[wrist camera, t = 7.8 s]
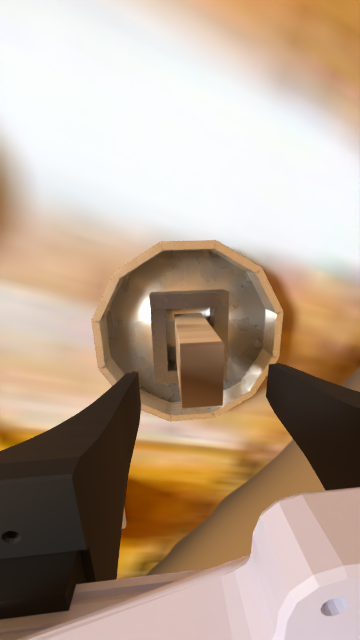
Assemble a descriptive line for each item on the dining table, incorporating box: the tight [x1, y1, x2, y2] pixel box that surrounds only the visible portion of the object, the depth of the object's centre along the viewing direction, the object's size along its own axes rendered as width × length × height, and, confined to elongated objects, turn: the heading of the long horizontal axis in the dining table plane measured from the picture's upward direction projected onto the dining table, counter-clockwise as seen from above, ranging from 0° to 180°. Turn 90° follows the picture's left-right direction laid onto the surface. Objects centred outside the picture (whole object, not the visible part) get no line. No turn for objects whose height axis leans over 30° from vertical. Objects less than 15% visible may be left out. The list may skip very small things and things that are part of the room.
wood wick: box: [174, 313, 224, 408], centre depth 16 cm, size 4×2×8 cm, turn 2°
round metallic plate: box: [92, 240, 283, 421], centre depth 19 cm, size 16×16×2 cm
